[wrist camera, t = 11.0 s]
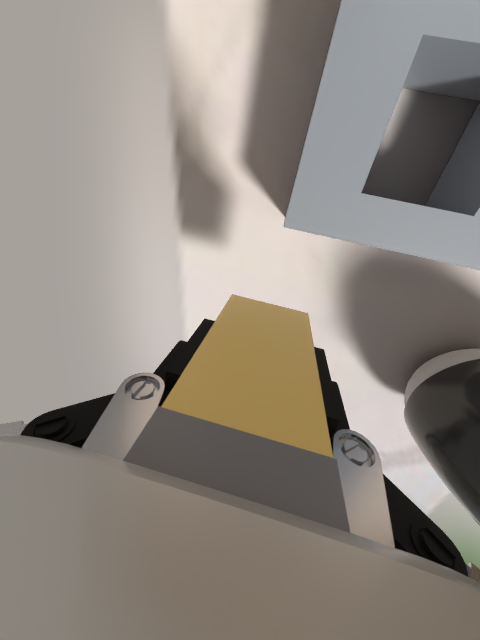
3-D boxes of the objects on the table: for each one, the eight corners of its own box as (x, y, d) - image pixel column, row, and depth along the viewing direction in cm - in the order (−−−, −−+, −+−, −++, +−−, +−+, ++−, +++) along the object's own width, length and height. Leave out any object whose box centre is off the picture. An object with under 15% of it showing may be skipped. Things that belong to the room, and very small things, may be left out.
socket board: (453, 253, 17) (509, 276, 12) (285, 217, 17) (283, 226, 13) (736, -188, 8) (1197, -576, 4) (396, -217, 9) (487, -563, 5)
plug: (286, 374, 14) (283, 671, 5) (219, 356, 14) (105, 605, 5) (309, 312, 12) (366, 616, 3) (231, 293, 12) (84, 518, 3)
